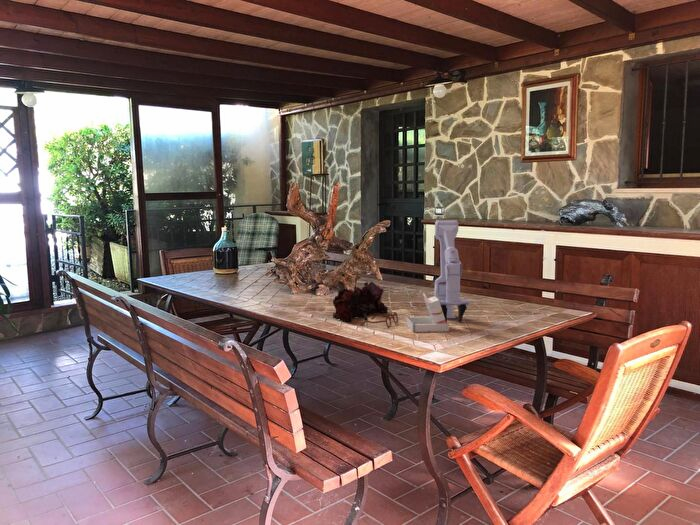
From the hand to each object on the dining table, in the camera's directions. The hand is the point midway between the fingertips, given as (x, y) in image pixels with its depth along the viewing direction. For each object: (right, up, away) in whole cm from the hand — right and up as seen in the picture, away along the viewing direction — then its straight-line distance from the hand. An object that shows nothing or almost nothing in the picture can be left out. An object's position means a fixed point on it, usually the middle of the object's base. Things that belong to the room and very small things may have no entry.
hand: (452, 322), depth 231 cm
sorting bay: (-10, -2, -1) cm, 11 cm away
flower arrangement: (-39, +1, +24) cm, 46 cm away
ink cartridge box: (-5, -1, 0) cm, 5 cm away
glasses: (-31, -2, +7) cm, 32 cm away
